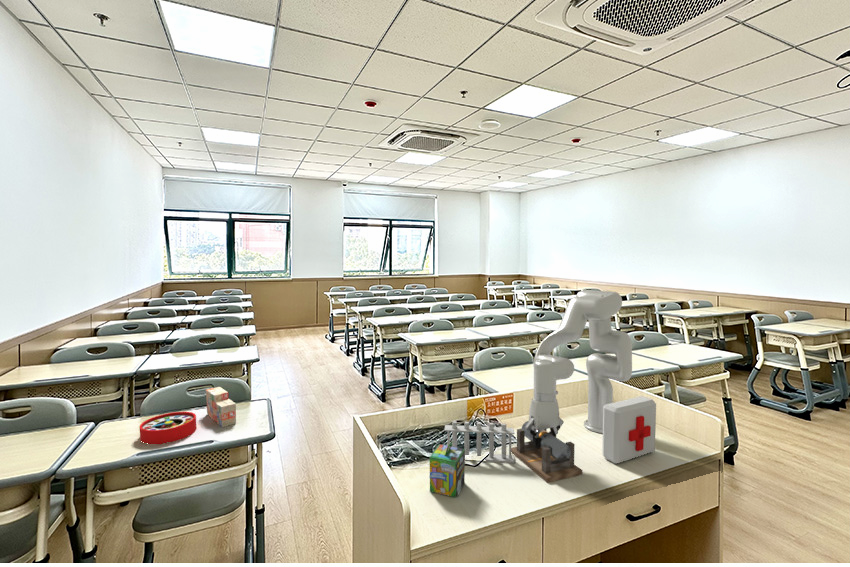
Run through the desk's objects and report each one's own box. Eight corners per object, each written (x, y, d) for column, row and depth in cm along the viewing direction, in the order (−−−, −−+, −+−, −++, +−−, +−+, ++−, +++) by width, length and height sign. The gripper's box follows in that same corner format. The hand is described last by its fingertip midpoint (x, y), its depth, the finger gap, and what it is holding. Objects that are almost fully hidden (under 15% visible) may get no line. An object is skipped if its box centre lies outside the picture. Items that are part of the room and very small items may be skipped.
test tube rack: (444, 459, 143) (444, 423, 142) (445, 453, 148) (445, 419, 147) (514, 463, 140) (514, 427, 139) (513, 457, 144) (513, 421, 143)
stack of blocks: (236, 423, 177) (235, 396, 176) (221, 428, 173) (220, 400, 172) (220, 410, 192) (219, 386, 191) (206, 414, 188) (205, 389, 187)
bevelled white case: (619, 468, 136) (620, 411, 135) (600, 457, 143) (601, 403, 142) (659, 454, 145) (661, 401, 143) (639, 445, 152) (640, 394, 151)
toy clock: (199, 422, 165) (140, 435, 153) (200, 435, 165) (141, 450, 153) (192, 408, 181) (138, 419, 168) (192, 420, 181) (139, 432, 169)
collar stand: (541, 445, 153) (541, 421, 152) (582, 474, 132) (582, 446, 131) (510, 451, 148) (510, 427, 147) (547, 482, 127) (547, 454, 127)
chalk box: (439, 477, 131) (438, 433, 131) (465, 482, 128) (465, 438, 127) (428, 492, 123) (428, 446, 122) (456, 498, 119) (456, 451, 119)
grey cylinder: (534, 435, 150) (535, 419, 150) (570, 460, 131) (571, 442, 131) (521, 437, 148) (521, 422, 148) (555, 463, 129) (556, 445, 129)
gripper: (558, 389, 145) (557, 437, 146) (517, 395, 139) (517, 445, 140) (572, 396, 138) (571, 446, 139) (530, 402, 132) (529, 454, 133)
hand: (544, 445), depth 140 cm, fingers closed on grey cylinder, 6 cm apart
